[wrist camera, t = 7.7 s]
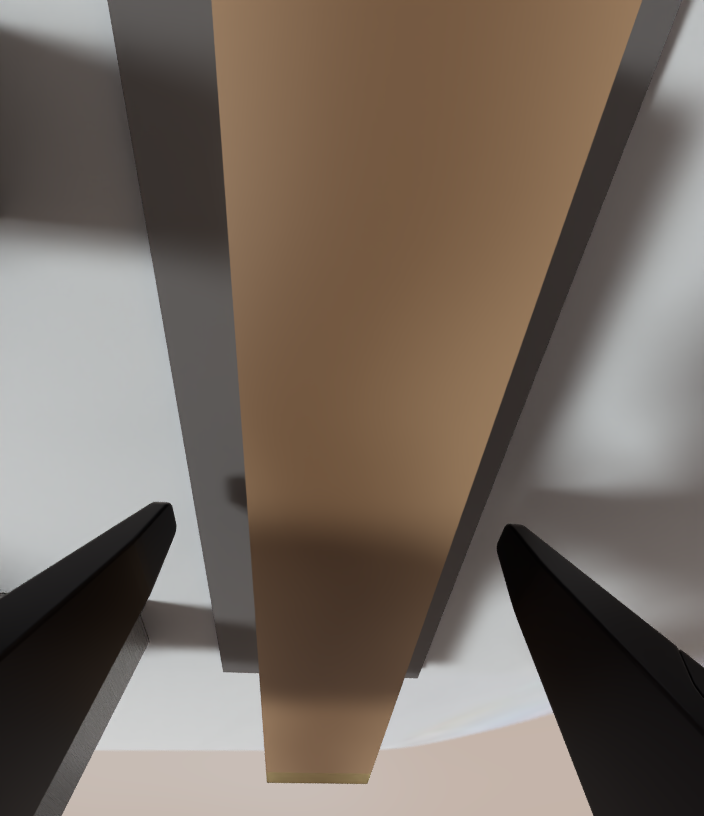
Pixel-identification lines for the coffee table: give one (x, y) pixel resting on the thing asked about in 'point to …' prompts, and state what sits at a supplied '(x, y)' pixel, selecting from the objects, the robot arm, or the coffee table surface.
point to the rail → (383, 310)
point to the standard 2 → (94, 723)
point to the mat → (212, 289)
